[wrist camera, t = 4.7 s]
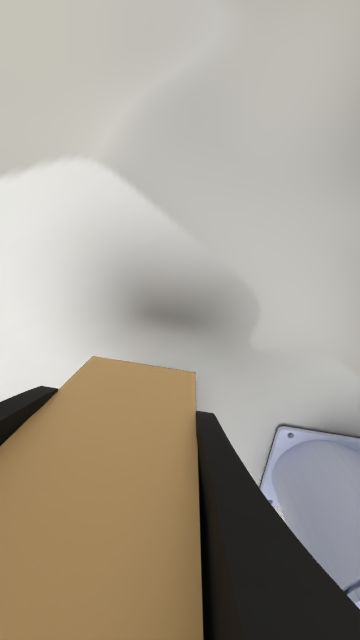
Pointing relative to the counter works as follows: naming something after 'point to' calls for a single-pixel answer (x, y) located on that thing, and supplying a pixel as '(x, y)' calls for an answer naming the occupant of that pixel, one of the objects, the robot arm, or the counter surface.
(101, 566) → the ochre domino
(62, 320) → the counter surface
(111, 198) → the counter surface
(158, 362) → the counter surface
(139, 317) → the counter surface
